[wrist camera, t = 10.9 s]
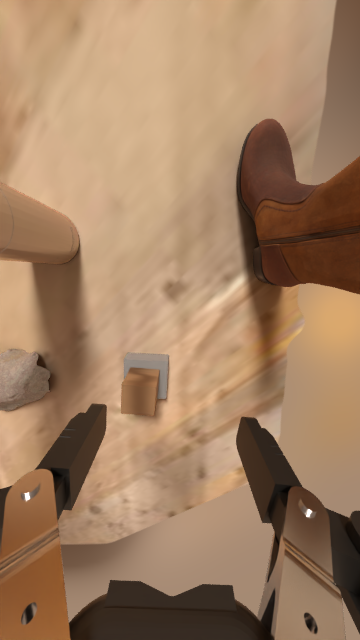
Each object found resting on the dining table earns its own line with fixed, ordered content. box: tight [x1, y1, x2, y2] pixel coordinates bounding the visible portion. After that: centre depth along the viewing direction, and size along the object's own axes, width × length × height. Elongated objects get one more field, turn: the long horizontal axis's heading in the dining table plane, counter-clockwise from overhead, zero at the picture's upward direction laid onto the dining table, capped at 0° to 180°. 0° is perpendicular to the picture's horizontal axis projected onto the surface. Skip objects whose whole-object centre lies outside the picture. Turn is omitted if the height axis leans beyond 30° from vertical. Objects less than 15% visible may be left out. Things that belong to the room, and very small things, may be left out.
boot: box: [237, 119, 360, 294], centre depth 21 cm, size 25×9×27 cm, turn 5°
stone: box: [0, 349, 51, 411], centre depth 39 cm, size 15×8×15 cm
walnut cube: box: [121, 367, 160, 416], centre depth 35 cm, size 6×6×6 cm
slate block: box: [124, 353, 169, 399], centre depth 40 cm, size 9×9×4 cm
